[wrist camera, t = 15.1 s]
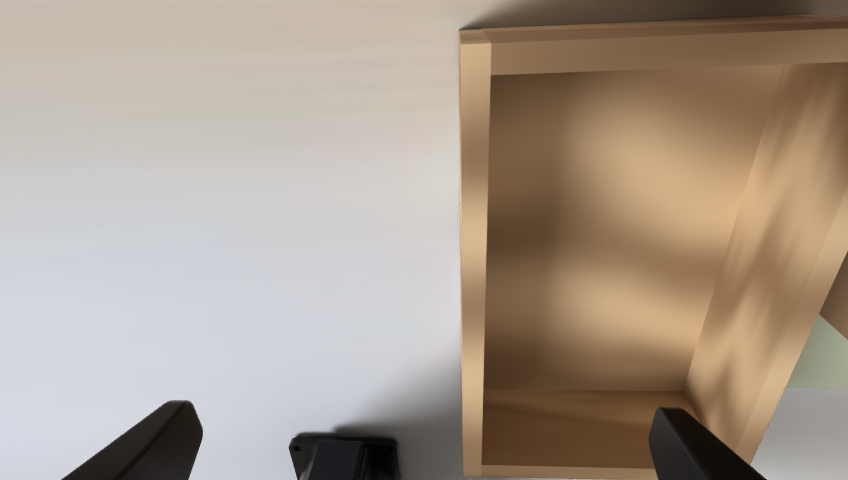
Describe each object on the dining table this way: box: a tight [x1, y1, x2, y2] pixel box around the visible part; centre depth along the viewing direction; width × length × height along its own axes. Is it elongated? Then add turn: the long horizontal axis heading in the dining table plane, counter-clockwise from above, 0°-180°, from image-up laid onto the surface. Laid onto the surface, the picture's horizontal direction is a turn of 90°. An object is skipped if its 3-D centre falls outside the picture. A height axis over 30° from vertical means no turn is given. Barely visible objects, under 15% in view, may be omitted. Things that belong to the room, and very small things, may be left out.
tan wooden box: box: [459, 14, 848, 480], centre depth 15 cm, size 23×12×9 cm, turn 3°
